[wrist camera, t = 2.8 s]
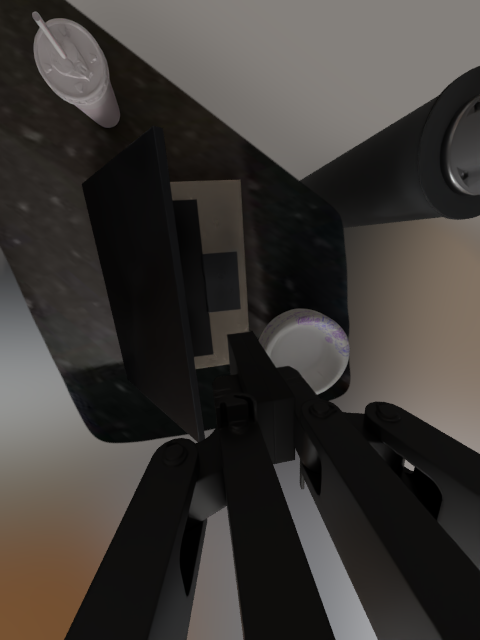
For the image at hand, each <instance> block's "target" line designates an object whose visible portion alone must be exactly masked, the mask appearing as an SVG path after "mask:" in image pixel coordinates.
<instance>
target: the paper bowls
mask: <svg viewBox="0 0 480 640" xmlns="http://www.w3.org/2000/svg"><path fill="white" fill-rule="evenodd" d="M259 342H260V344H261V345H262V347H263V348H264V350H265V351H266V353H267V354H268V356H269V357H270V359H271V360H272V362H273V364H274V365H275V367H276V368H277V367H284V366H290V367H292V368H294V369H296V370H297V371H298V372H299V373H300V374H301V376H302V378H304V379H305V381H306V383H308V384H309V385H310V387H311V388H312V389H313V390H314V392H315V393H316V394H319V393H321V392H323V391H325V390H327V389H328V388H329V387H331V386H332V385H333V384H334V383H335V382H336V381H337V380H338V379H339V378H340V376H341V375H342V373H343V372H344V370H345V368H346V366H347V363H348V359H349V342H348V339H347V336H346V334H345V332H344V330H343V329H342V328H341V327H340V326H339V325H338V324H337V323H336V322H335V321H334V320H332V319H330V318H328V317H327V316H325V315H323V314H321V313H319V312H317V311H314V310H310V309H292V310H289V311H286V312H284V313H282V314H280V315H278V316H277V317H275V318H274V319H273V320H272V321H271V322H270V323H269V324H268V325H267V326H266V327H265V329H264V330H263V332H262V333H261V335H260V338H259Z"/></svg>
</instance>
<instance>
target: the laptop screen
mask: <svg viewBox="0 0 480 640" xmlns="http://www.w3.org/2000/svg"><path fill="white" fill-rule="evenodd" d="M82 187H83V192H84V196H85V200H86V204H87V209H88V213H89V217H90V221H91V226H92V230H93V234H94V238H95V243H96V247H97V251H98V255H99V260H100V264H101V268H102V272H103V277H104V281H105V285H106V289H107V294H108V298H109V302H110V306H111V311H112V315H113V319H114V323H115V328H116V332H117V336H118V340H119V345H120V349H121V353H122V357H123V362H124V366H125V370H126V374H127V379H128V380H129V381H130V382H131V383H132V384H133V385H134V386H135V387H136V388H138V389H139V390H140V391H141V392H142V393H143V394H144V395H145V396H147V397H148V398H149V399H150V400H151V401H152V402H153V403H154V404H156V405H157V406H158V407H159V408H160V409H161V410H162V411H163V412H164V413H166V414H167V415H168V416H169V417H170V418H171V419H172V420H173V421H175V422H176V423H177V424H178V425H179V426H180V427H181V428H182V429H184V430H185V431H186V432H187V433H188V434H189V435H190V436H191V437H193V438H194V439H195V440H196V441H197V442H200V441H202V440H204V439H205V435H204V428H203V420H202V413H201V406H200V398H199V391H198V384H197V376H196V369H195V362H194V354H193V347H192V340H191V332H190V325H189V318H188V310H187V303H186V296H185V288H184V281H183V274H182V266H181V259H180V252H179V244H178V237H177V230H176V222H175V215H174V208H173V200H172V193H171V186H170V178H169V171H168V164H167V156H166V149H165V142H164V134H163V128H160V127H156V126H152V127H151V128H150V129H149V130H147V131H146V132H145V133H144V134H142V135H141V136H140V137H139V138H138V139H136V140H135V141H134V142H133V143H131V144H130V145H129V146H128V147H127V148H125V149H124V150H123V151H122V152H120V153H119V154H118V155H117V156H116V157H114V158H113V159H112V160H111V161H109V162H108V163H107V164H106V165H105V166H103V167H102V168H101V169H100V170H98V171H97V172H96V173H95V174H94V175H92V176H91V177H90V178H89V179H87V180H86V181H85V182H84V183H82Z"/></svg>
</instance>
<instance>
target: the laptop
mask: <svg viewBox="0 0 480 640" xmlns="http://www.w3.org/2000/svg"><path fill="white" fill-rule="evenodd" d="M170 186H171V193H172V200H173V208H174V215H175V222H176V230H177V237H178V244H179V252H180V259H181V266H182V274H183V281H184V288H185V296H186V303H187V310H188V318H189V325H190V332H191V340H192V347H193V354H194V362H195V369H198V368H205V367H212V366H219V365H227V364H230V363H229V351H228V340H227V334H235V333H243V332H249V320H248V302H247V285H246V267H245V250H244V233H243V215H242V198H241V180H217V181H187V182H170Z"/></svg>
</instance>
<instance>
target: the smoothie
mask: <svg viewBox="0 0 480 640" xmlns="http://www.w3.org/2000/svg"><path fill="white" fill-rule="evenodd" d="M33 18H34V20H35V21H36V22H37V24H38V25H39V27H40V28H39V30H38V32H37V34H36V36H35V40H34V57H35V61H36V64H37V67H38V69H39V72H40V74H41V75H42V77H43V78H44V80H45V81H46V82H47V84H48V85H49V86H50V87H51V89H52V90H53V91H54V92H55V93H56V94H57V95H58V96H59V97H61V98H62V99H64V100H65V101H67V102H69V103H71V104H74V105H75V106H77V107H78V108H79V109H80V110H82V111H83V112H84V113H85V114H87V115H88V116H89V117H90V118H92V119H93V120H94V121H95V122H97V123H98V124H99V125H101V126H102V127H105V128H111V127H114V126H115V125H117V123H118V122H119V119H120V110H119V107H118V104H117V101H116V98H115V95H114V92H113V89H112V86H111V83H110V79H109V69H108V64H107V61H106V58H105V56H104V53H103V51H102V50H101V48H100V47H99V45H98V43H97V42H96V40H95V39H94V37H93V36H92V35H91V34H90V33H89V32H88V31H87V30H86V29H85V28H84V27H82V26H81V25H79V24H78V23H76V22H74V21H71V20H68V19H63V18H57V19H52V20H49V21H47V22H46V23H45V22H44V21H43V19H42V18H41V16H40V15H39V13H37V12H33Z"/></svg>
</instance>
